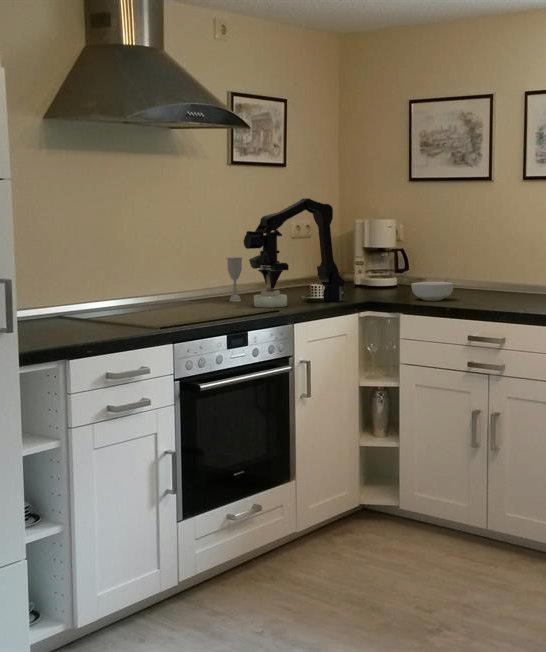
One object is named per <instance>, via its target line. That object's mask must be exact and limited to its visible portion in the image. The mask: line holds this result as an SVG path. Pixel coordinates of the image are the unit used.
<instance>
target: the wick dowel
mask: <svg viewBox="0 0 546 652" xmlns="http://www.w3.org/2000/svg"><path fill="white" fill-rule="evenodd" d="M266 281H267V286H266V290H267V291H270V292H274V290H275V287H274V288H271V284H270V275H269V274H268V273H266Z"/></svg>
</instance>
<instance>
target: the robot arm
mask: <svg viewBox="0 0 546 652" xmlns="http://www.w3.org/2000/svg"><path fill="white" fill-rule="evenodd" d="M304 211H307V212H308V213H309V214H312V217H313V220H314V222H315V224H316V226H317V229H318V239H319V247H320V258H321V262H320V265H317V266H316V269H317V275H316V276H317V277H318V279H319V280H320V281H321V285H322V286H323V287H324V289H323V302H332V303H334V302H342V301H343V298H342V287H344V286H345V282H346V281H345V279H343V278H342V276H340V273H339V268H338V266H337V264H336V262H335V261H334V252H333V241H332V240H333V239H332V232H331V224H332V221H333V217H334V216H333V215H334V208H333V206H332V205H331V204H329V203H323V202H322V203H321V202H318V201H316V200H313V199H312V198H307V197H306V198H301V199H300V200H299V201H297V202H295V203H293V204H291V205H290V206H287V207H286V208H284V209H282V210H280V211H278V212H274V213H270V214H267V215H264V216H262V217H261V218H260V221H259V224H258V225H257V227H256V229H255V230H254V231H251V230H248V231H246V232H245V233H246V234H245V235H244V239H243V246H244V248H245V249H247V250H249V249H251V250H252V249H261V248H262V250H260V252H259V254H258V255H255V256H253V257H252V258H251V257H250V259H248V261H249V264H250V267H251V268H252V269H257V271H258V272H260V273H261V274H262V277H263V279H264V283H265V286H266V287H267V281H266V273H268V274H269V275H270V284H271V288H274V289H275V286H276V284H277V282H278V281H279V278H280V276H281V275H282V272H283V271H289V264H288V262H280V261H279V260H278V254H280V250H278V237H282V236H283V234H282V233H281V232H280V231H279V230H278V229H280V227H282V226H283V224H284V223H285V222H287V221H288V220H289V219H292V218H294V217H295V216H297V215H299V214H300V213H303V212H304Z"/></svg>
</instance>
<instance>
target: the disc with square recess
mask: <svg viewBox="0 0 546 652" xmlns="http://www.w3.org/2000/svg"><path fill="white" fill-rule="evenodd" d="M287 306H288V295H287V294H282V293H280V290H279V289H278V290H277V289H274V292H270V291H267V289H265V290H261V291H260V294H255V295H253V307H256V308H284V307H287Z"/></svg>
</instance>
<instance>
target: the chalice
mask: <svg viewBox="0 0 546 652" xmlns="http://www.w3.org/2000/svg"><path fill="white" fill-rule="evenodd" d="M243 258H244V257H243V256H242V257H241V256H227V257H226V260H227V272H228V275H229V276H230V278H231V280H233V288H232V290H233V294H232V295H230V297H229V302H241V301H242V300H241V297H240V295H239V294H238V293H237V291H238V289H237V285H238V284H237V280H238V279H239V278H240V276H241V273H242V268H243V266H242V265H243V264H242V263H243Z"/></svg>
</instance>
